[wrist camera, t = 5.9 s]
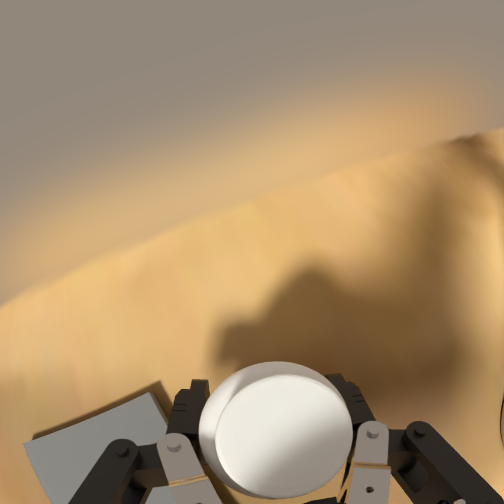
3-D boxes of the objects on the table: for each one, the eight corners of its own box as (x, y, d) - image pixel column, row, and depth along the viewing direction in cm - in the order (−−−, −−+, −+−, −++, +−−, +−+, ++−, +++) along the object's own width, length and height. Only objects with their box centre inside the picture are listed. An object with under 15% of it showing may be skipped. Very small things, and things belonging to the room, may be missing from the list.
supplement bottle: (297, 470, 14) (355, 525, 5) (207, 453, 14) (166, 498, 5) (315, 389, 17) (389, 360, 8) (229, 372, 17) (212, 327, 8)
